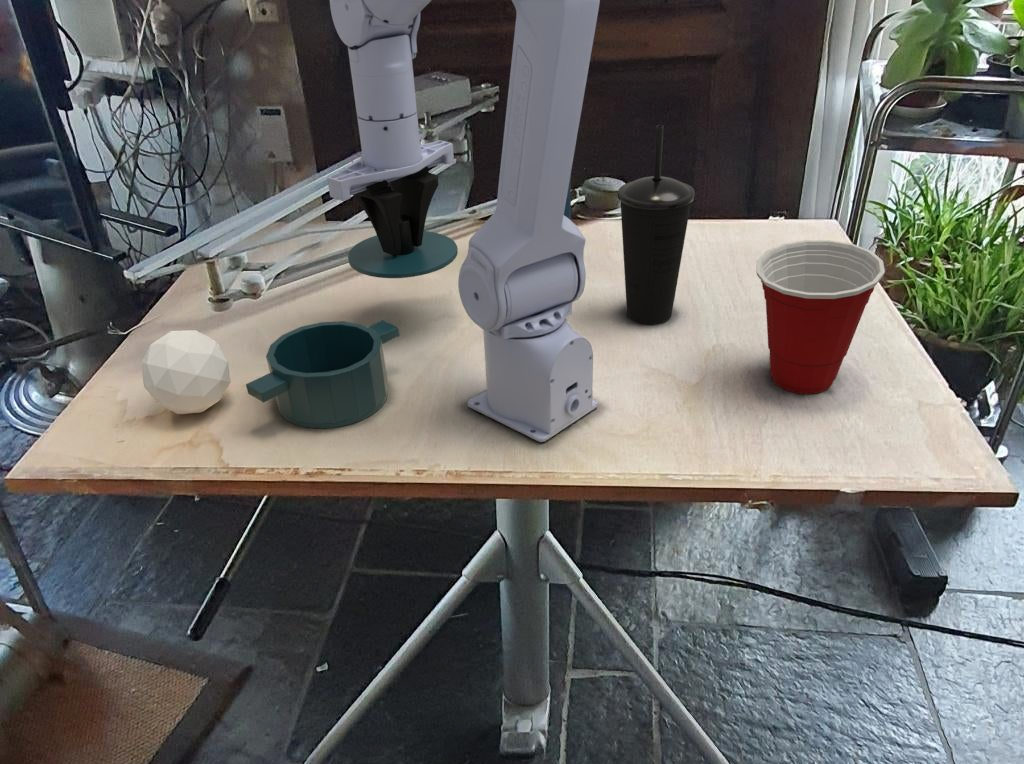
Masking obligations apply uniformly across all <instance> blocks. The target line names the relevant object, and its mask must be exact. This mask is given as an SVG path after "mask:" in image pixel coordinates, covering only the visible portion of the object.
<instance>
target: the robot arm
mask: <svg viewBox="0 0 1024 764" xmlns="http://www.w3.org/2000/svg"><path fill="white" fill-rule="evenodd" d="M431 2H432V0H329V9H330V14H331V19H332V22H333V25H334V28H335V31H336V33H337V35H338V37H339V38H340V40H341V41H342V43H343V44H344V45H345V46H347V52H348V59H349V68H350V74H351V82H352V88H353V96H354V102H355V112H356V118H357V126H358V134H359V140H360V149H361V154H360V160H358V161H356V162H355V163H353V164H351V165H349V166H348V167H347V168H345V169H343V170H340V171H339V172H337V173H335V174H332V175H330V176H327V177H326V179H327V185H328V192H329V197H330V198H333V199H335V200H337V201H341V202H344V201H348V200H350V199H351V198H352V197H351V196H353V197H354V198H355V200H356V201H357V202H358V204H359V205H360V206H361V208H362V209H363V211H364V212H365V214H366V216H367V217H368V219H369V221H370V223H371V225H372V227H373V229H374V231H375V234H376V235H377V236H378V239H379V241H380V244H381V247H382V250H383V252H385V253H388V254H390V255H393V256H397V255H399V254H400V252H401V240H400V229H399V215H408V216H410V218H411V224H412V234H413V243H414V246H416V247H419V246H421V245H422V239H423V233H424V231H425V225H426V221H427V216H428V211H429V208H430V205H431V203H432V200H433V197H434V195H435V192H436V191H437V189H438V188H439V176H438V174H435V173H432V172H430V168H434V167H436V166H438V165H441V164H444V165H450V164H452V163H454V162H455V157H454V143H452V142H448V141H445V140H442V139H441V140H440V139H439V140H435V141H432V142H428V143H423V144H421V138H420V126H419V118H418V107H417V98H416V97H417V96H416V85H415V76H414V67H413V60H414V59H416V57H417V53H418V45H417V38H418V37H417V36H418V31H419V30H420V29H419V28H420V23H421V12H422V11H423V10H424V9H425V8H426V7H427V5H429V4H430V3H431ZM511 2H512V5H513V6H514V8H515V12H516V16H515V25H514V34H513V43H512V44H513V45H512V55H511V62H510V63H511V64H510V65H511V66H510V73H509V82H508V90H507V91H508V93H507V101H506V110H505V121H504V129H503V137H502V138H503V139H502V149H501V158H500V169H499V178H498V186H497V187H498V188H497V195H496V196H497V197H496V206H495V211H494V212H493V214H492V215H491V216H490V217H489V218H488V219H487V220H486V221H485V222H484V223H483V224H482V225H481V226H480V227H479V228H478V229H477V230H476V231H475V232H474V233H473V234H472V236H471V237H470V238H469V240H468V248H467V253H466V258H465V259H464V261H463V263H462V264H461V267H460V270H459V274H458V281H457V285H458V294H459V299H460V301H461V304H462V306H463V308H464V311H465V312H466V314H467V316H468V317H469V319H470V320H471V322H473V323H474V324H475V325H477V327H479V328H480V329H482V332H483V348H484V349H483V350H484V363H485V365H484V367H485V377H486V378H485V380H486V390H485V391H483V392H481V393H479V394H478V395H476V396H474V397H472V398H471V399H469V400H468V401H467V406H468V408H470V409H472V410H474V411H476V412H479V413H481V414H482V415H484V416H486V417H488V418H490V419H492V420H494V421H496V422H498V423H501V424H502V425H504V426H507V427H508V428H510V429H512V430H515V431H517V432H519V433H521V434H523V435H525V436H527V437H529V438H531V439H533V440H534V441H537V442H539V443H543V442H546V441H547V440H550V439H551V438H552V437H554V436H555V435H557V434H558V433H560V432H561V431H563V430H565V429H566V428H567V427H569V426H571V425H572V424H573V423H575V422H576V421H578V420H580V419H581V418H582V417H584V416H586V415H587V414H588V413H590V412H592V411H593V410H595V409H596V408H597V407H598V401H597V400H596V399H594V398H593V381H594V380H593V378H594V377H593V376H594V374H593V373H594V351H593V347H592V345H591V342H590V341H589V340H588V339H587V338H586V337H585V336H583V335H581V334H580V333H578V332H577V331H576V330H574V329H573V327H572V326H571V325H570V323H569V322H568V320H567V317H570V316H572V314H573V303H574V302H576V301H577V300H579V299H580V298H581V296H582V295H583V293H584V290H585V287H586V276H587V275H586V273H587V272H586V265H585V260H584V251H585V246H586V241H587V240H586V239H587V238H585V236H584V234H583V233H582V231H581V230H580V228H579V226H577V225H576V224H575V223H574V222H573V221H572V219H571V220H570V219H568V218H567V217H566V216H564V210H565V204H566V198H567V192H568V187H569V181H570V175H571V176H572V168H573V162H574V156H575V151H576V145H577V138H578V132H579V127H580V121H581V115H582V111H583V110H582V109H583V105H584V104H583V103H584V99H585V98H584V97H585V91H586V86H587V80H588V74H589V68H590V62H591V57H592V56H591V55H592V50H593V45H594V39H595V32H596V27H597V22H598V15H599V9H600V4H601V3H600V2H601V0H511ZM389 183H390V185H391V186H389Z"/></svg>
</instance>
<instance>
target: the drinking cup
mask: <svg viewBox="0 0 1024 764" xmlns="http://www.w3.org/2000/svg"><path fill="white" fill-rule="evenodd" d="M663 139H664V125H662V124H658V125H656V127H655V143H654V159H653V160H654V163H653V175H650V176H644V177H641V178H638V179H635V180H633V181H628V182H627V183H625V184H622V185H621V186H620V187H619V188H618V190H617V198H618V200H619V202H620V217H621V219H620V220H621V232H622V233H621V235H622V251H623V252H622V253H623V268H624V269H623V270H624V287H625V288H624V289H625V306H626V316H627V317H628V319H629V320H631V321H632V322H635V323H637V324H640V325H641V324H642V325H658V324H659V325H660V324H663V323H666V322H667V321H669V320H670V319H671V318H672V314H673V308H674V303H675V297H676V292H677V286H678V281H679V273H680V268H681V263H682V257H683V250H684V245H685V239H686V235H687V228H688V223H689V217H690V211H691V205H692V202H693V201H694V199H695V197H696V192H695V189H694V188H693V186H691V185H689V184H687V183H684V182H682V181H680V180H678V179H675V178H672V177H668V176H663V175H661V174H662V157H663V141H664V140H663Z"/></svg>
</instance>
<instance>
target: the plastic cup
mask: <svg viewBox="0 0 1024 764" xmlns="http://www.w3.org/2000/svg"><path fill="white" fill-rule="evenodd" d="M755 273H756V276H757V277H758V278H759V280H760V283H761V285H762V286H761V287H762V290H763V296H764V300H765V312H766V314H765V315H766V328H767V332H766V333H767V349H768V350H769V374H770V378H771V380H772V381H773V383H774V384H775V385H776V386H778V387H779V388H781V389H783V390H785V391H788V392H791V393H794V394H803V395H804V394H805V395H811V394H820V393H822V392H824V391H827V390H829V388H830V387H831V386H832V385H833V383H834V381H835V380H836V379H837V377H838V373H839V371H840V368H841V367H842V364H843V361H844V358H845V357H846V356H847V354H848V351H849V349H850V347H851V344H852V341H853V338H854V336H855V334H856V331H857V329H858V327H859V324H860V321H861V319H862V316H863V314H864V311H865V309H866V306H867V305H868V304H869V301H870V299H871V296H872V294H873V292H874V290H875V288H876V286H877V284H878V283H880V281H881V280H882V278H883V277H884V275H885V273H886V269H885V263H884V261H883V259H881V258H880V257H879V256H878V255H876V253H874V252H873V250H870V249H867V248H865V247H863V246H859V245H857V244H854V243H850V242H844V241H837V240H831V239H804V240H799V241H793V242H787V243H783V244H780V245H778V246H775V247H773V248H771V249H768V250H766V251H765V252H764V253H763V254H762V255H761V256H760V257H759V258H757V259H756V263H755Z"/></svg>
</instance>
